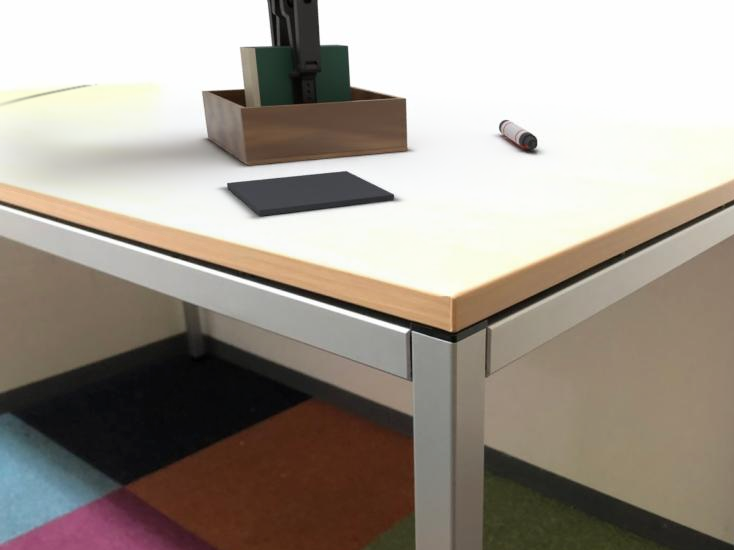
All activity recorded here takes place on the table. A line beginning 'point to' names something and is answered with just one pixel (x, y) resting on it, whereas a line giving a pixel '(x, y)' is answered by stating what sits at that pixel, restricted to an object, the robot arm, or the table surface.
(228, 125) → the box
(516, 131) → the marker
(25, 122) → the table surface
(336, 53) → the book
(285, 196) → the mat
